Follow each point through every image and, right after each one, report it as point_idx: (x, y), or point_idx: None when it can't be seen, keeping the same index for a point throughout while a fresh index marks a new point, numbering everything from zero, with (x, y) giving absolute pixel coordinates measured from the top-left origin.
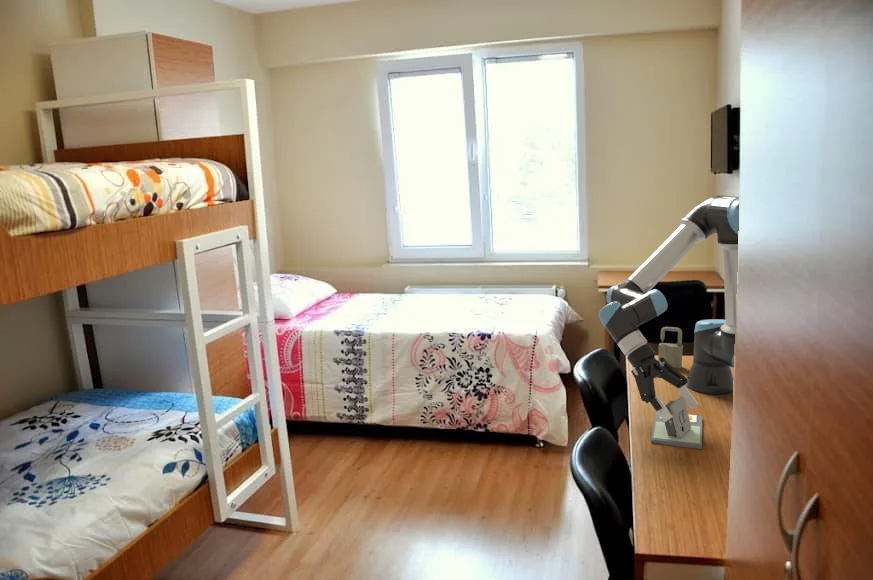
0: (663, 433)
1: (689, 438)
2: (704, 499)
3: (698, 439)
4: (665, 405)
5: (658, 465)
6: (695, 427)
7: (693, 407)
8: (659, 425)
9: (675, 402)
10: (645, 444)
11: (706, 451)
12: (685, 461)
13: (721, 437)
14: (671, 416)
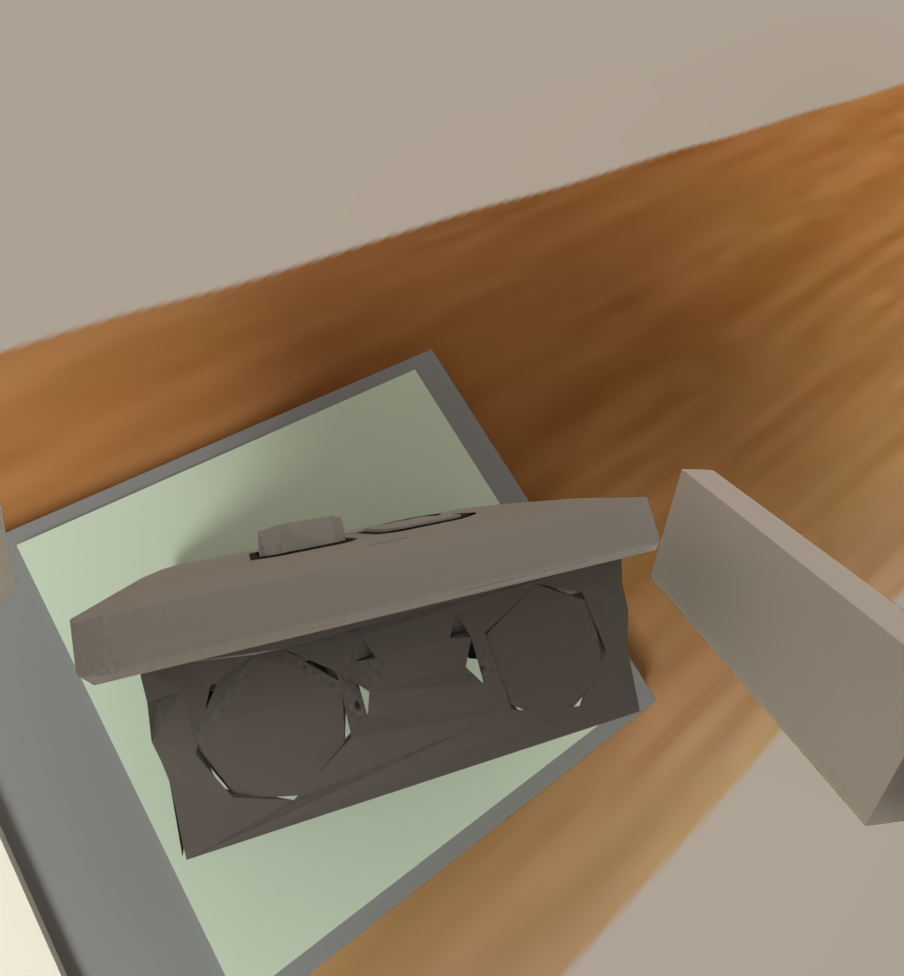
0: None
1: (394, 471)
2: (886, 149)
3: (355, 409)
4: (481, 756)
5: (845, 448)
6: (84, 565)
7: (1, 537)
8: (324, 875)
9: (487, 557)
10: (696, 712)
11: (433, 327)
12: (673, 360)
13: (67, 348)
14: (705, 473)
